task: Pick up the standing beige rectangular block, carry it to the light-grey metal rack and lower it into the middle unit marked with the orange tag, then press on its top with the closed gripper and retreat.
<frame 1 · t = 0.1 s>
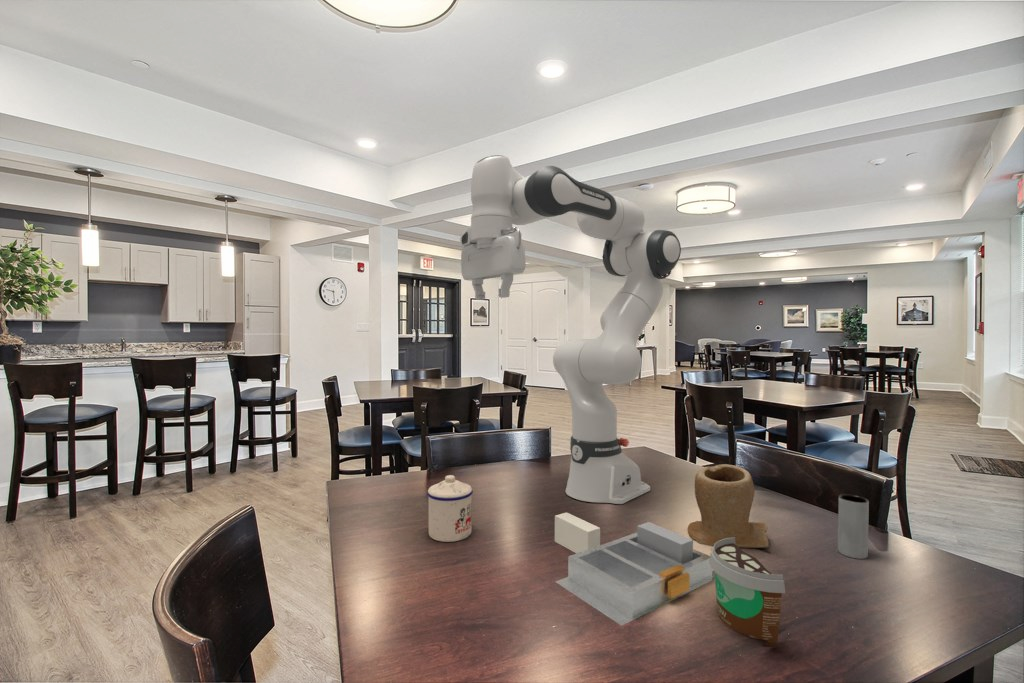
hand: (491, 298, 104), 48 cm above the table, tool pointing down, fingers open, 8 cm apart
rack: (640, 584, 78), on the table
grey hollow cylinder: (852, 554, 89), on the table
teacup with lid: (452, 531, 99), on the table
beige rectangular block: (576, 553, 89), on the table
food container: (734, 628, 67), on the table
stone cup: (730, 545, 93), on the table
gray rectangular block: (663, 567, 82), resting on rack
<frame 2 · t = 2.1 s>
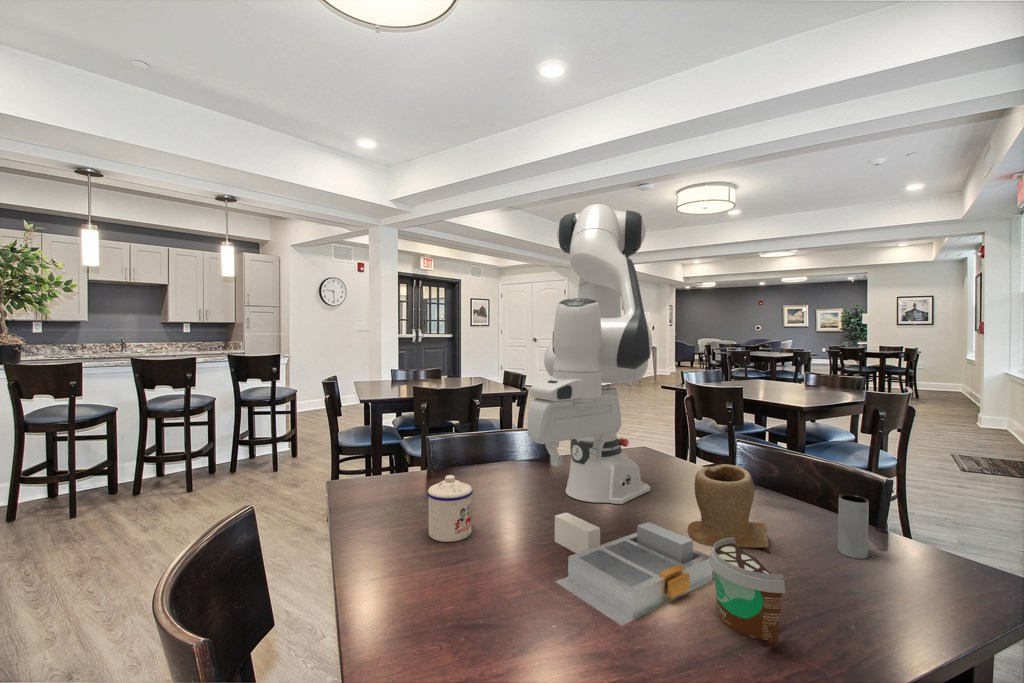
hand: (576, 461, 89), 17 cm above the table, tool pointing down, fingers open, 8 cm apart
nothing on the table moved.
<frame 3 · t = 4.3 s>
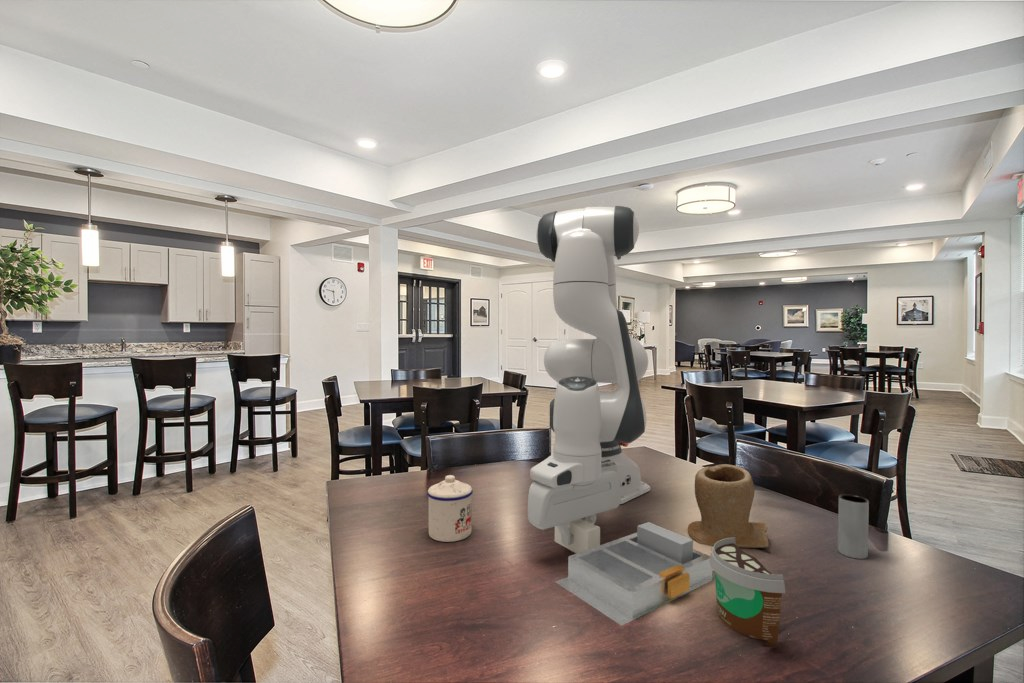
hand: (576, 540, 89), 2 cm above the table, tool pointing down, fingers closed on beige rectangular block, 3 cm apart
beige rectangular block: (576, 553, 89), on the table, touching gripper
everything else where it was.
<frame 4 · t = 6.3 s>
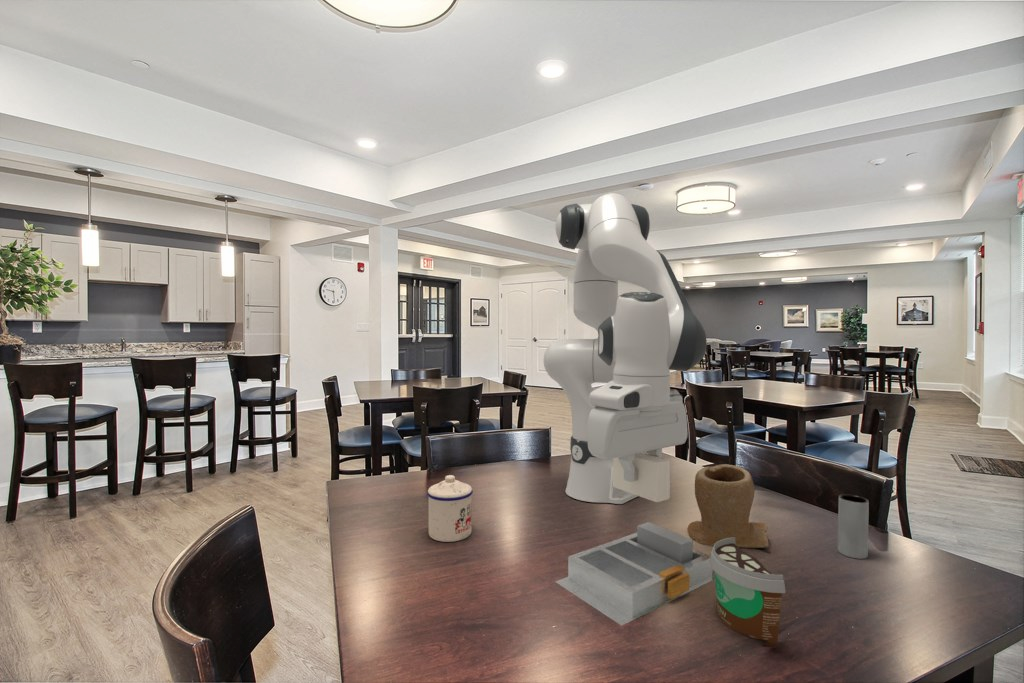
hand: (640, 478, 78), 17 cm above the table, tool pointing down, fingers closed on beige rectangular block, 3 cm apart
beige rectangular block: (640, 492, 78), point 15 cm above the table, touching gripper
everything else where it was.
when the fingers open (5 cm above the table, at t = 8.7 s): beige rectangular block drops 2 cm, resting on rack.
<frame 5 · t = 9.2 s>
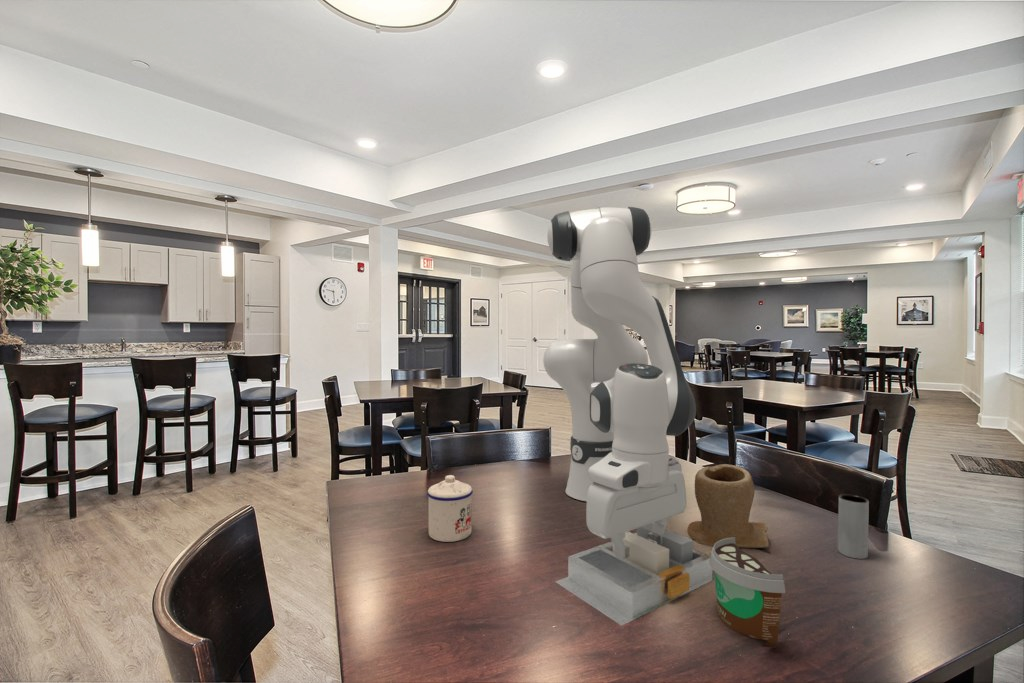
hand: (639, 550, 78), 6 cm above the table, tool pointing down, fingers open, 7 cm apart
beige rectangular block: (639, 578, 78), point 1 cm above the table, touching rack
everything else where it was.
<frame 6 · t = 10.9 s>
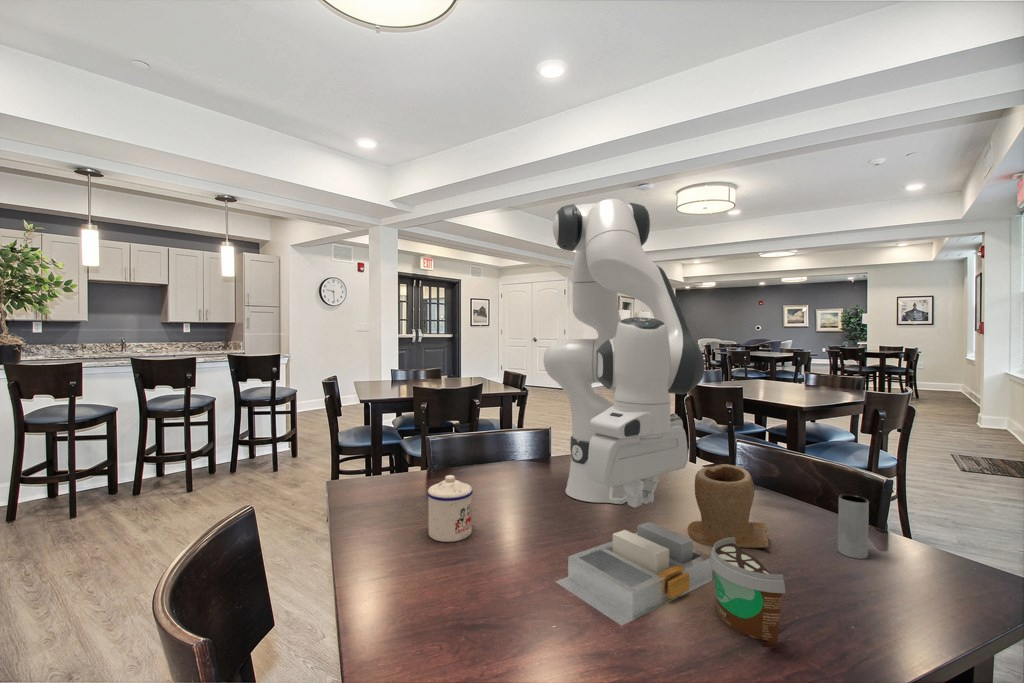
hand: (640, 503, 78), 13 cm above the table, tool pointing down, fingers closed
nothing on the table moved.
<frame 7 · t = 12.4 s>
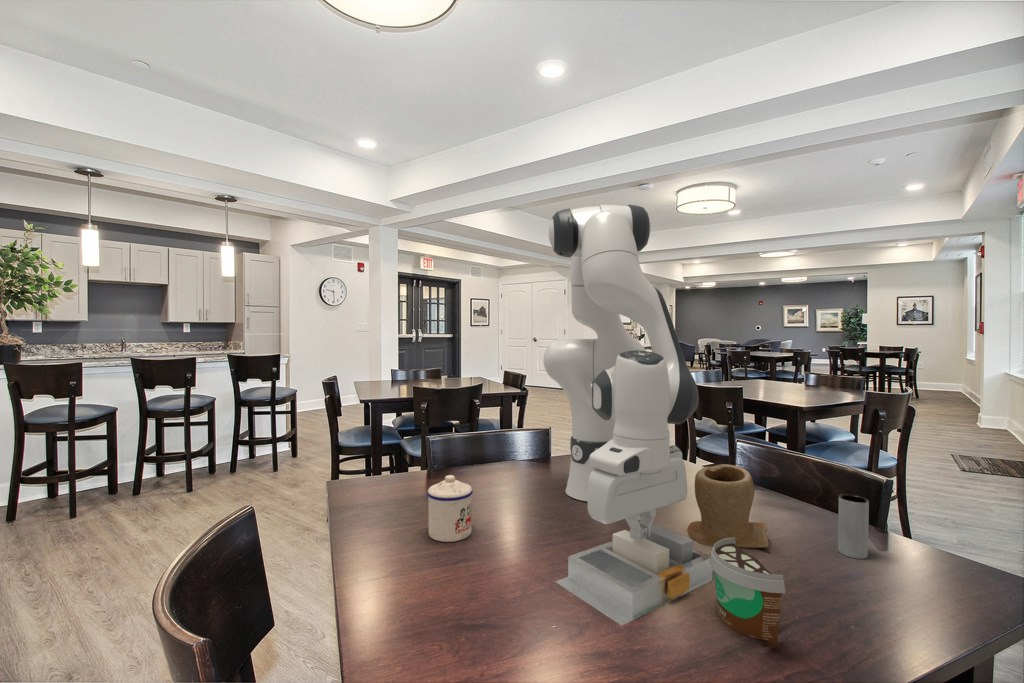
hand: (640, 537, 78), 8 cm above the table, tool pointing down, fingers closed
nothing on the table moved.
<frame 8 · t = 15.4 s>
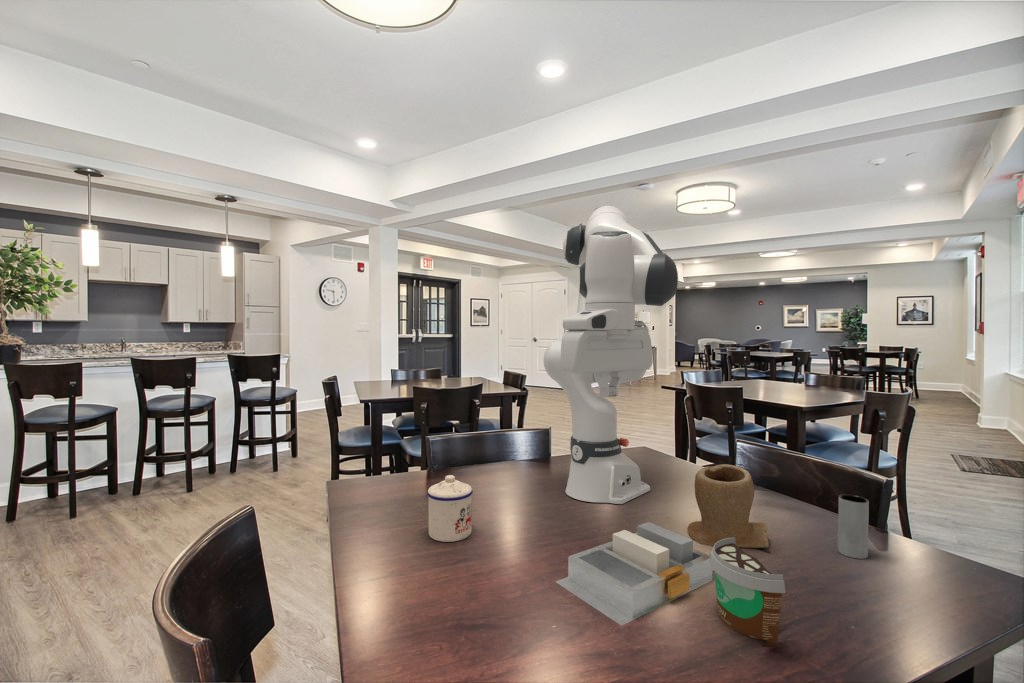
hand: (609, 396, 88), 29 cm above the table, tool pointing down, fingers closed
nothing on the table moved.
at the end: beige rectangular block 0.1 cm off-centre on the rack, point 1.0 cm above the rack's base; beige rectangular block tilted 0°; the gripper is holding nothing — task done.
